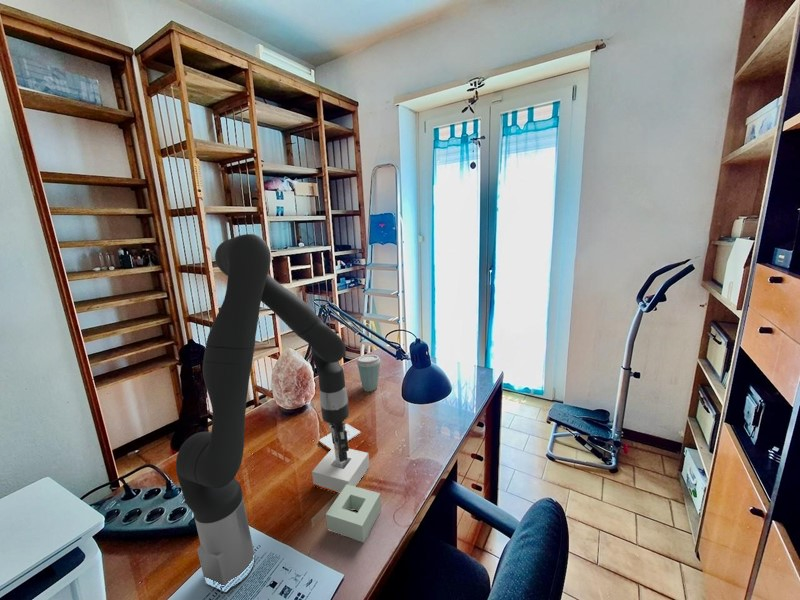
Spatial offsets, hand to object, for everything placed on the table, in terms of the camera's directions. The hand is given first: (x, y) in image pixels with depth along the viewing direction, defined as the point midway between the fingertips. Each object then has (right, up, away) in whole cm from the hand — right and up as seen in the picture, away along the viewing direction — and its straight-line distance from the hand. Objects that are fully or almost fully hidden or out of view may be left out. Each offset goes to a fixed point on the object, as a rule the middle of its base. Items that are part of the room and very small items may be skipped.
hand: (339, 451), depth 99 cm
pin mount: (+6, -12, -13) cm, 18 cm away
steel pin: (0, -8, +2) cm, 9 cm away
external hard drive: (-4, -5, +20) cm, 21 cm away
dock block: (0, -8, +2) cm, 9 cm away
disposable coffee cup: (+4, +4, +54) cm, 54 cm away
